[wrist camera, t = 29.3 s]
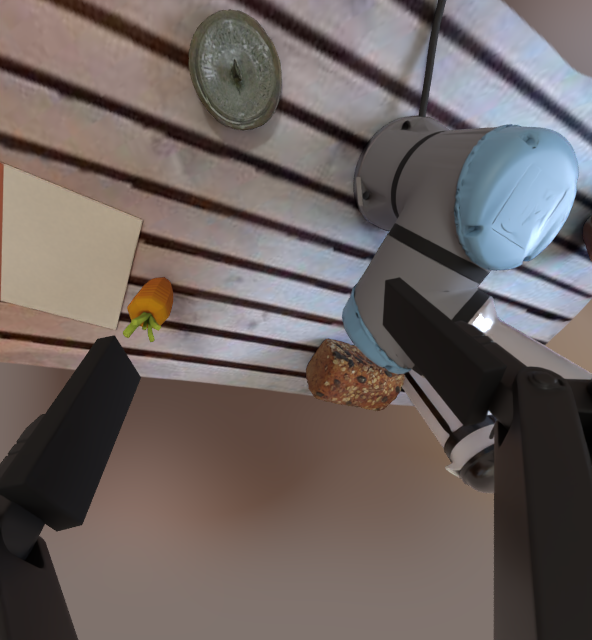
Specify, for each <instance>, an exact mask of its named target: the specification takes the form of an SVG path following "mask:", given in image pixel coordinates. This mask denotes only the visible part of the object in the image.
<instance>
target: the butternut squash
mask: <svg viewBox="0 0 592 640" xmlns="http://www.w3.org/2000/svg"><path fill="white" fill-rule="evenodd" d="M583 240H584V243H585V246H586V249H587V252H588V254H589V257H590V260H591V262H592V215H591V216H590V217H589V218H588V220H587V221H586V222H585V224H584V226H583Z"/></svg>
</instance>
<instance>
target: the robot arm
mask: <svg viewBox="0 0 592 640" xmlns="http://www.w3.org/2000/svg"><path fill="white" fill-rule="evenodd" d="M445 3H446V0H438V4H437V8H436V12H435V17H434V21H433V26H432V31H431V37H430V42H429V49H428V56H427V63H426V71H425V78H424V84H423V91H422V97H421V104H420V110H419V116H410V117H404V118H400V119H397V120H394V121H392V122H390V123H389V124H387V125H385V126H384V127H383V128H381V129H380V130H379V131H378V132H377V133H376V134H375V135H374V136H373V137H372V138H371V139H370V141H369V142H368V143H367V145H366V146H365V148H364V150H363V151H362V153H361V155H360V158H359V160H358V163H357V166H356V170H355V175H354V196H355V200H356V204H357V206H358V208H359V210H360V212H361V214H362V215H363V216H364V217H365V218H366V219H367V220H368V221H369V222H370V223H372V224H373V225H375V226H377V227H379V228H381V229H383V230H387V231H390V232H389V233H388V234H387V236H386V238H385V239H384V241H383V243H382V244H381V246H380V248H379V249H378V251H377V253H376V254H375V256H374V258H373V259H372V261H371V263H370V264H369V266H368V268H367V269H366V271H365V272H364V274H363V275H362V277H361V279H360V280H359V282H358V283H357V284H356V285H355V286H354V288H353V290H352V294H351V296H350V298H349V300H348V302H347V303H346V305H345V307H344V309H343V313H342V319H343V323H344V328H345V330H346V332H347V334H348V336H349V337H350V339H351V340H352V342H353V343H354V344H355V345H356V346H357V348H358V349H359V350H360V351H361V352H362V353H363V354H364V355H365V356H366V357H367V358H369V359H370V360H371V361H372V362H374V363H375V364H377V365H378V366H380V367H385V368H386V369H387V370H388V371H389V372H392V373H396V374H404V373H406V372H409V371H411V370H414V371H415V372H416V373H418V374H419V375H420V376H422V377H423V378H426V380H427V381H428V382H429V383H430V385H431V386H432V387H433V388H434V390H435V391H436V392H437V393H438V395H439V396H440V397H441V398H442V400H443V401H444V402H445V403H446V405H447V406H448V407H449V408H450V410H451V411H452V412H453V413H454V415H455V416H456V417H457V418H458V420H459V421H460V422H461V423H462V424H463V426H464V427H466V426H470V425H474V424H478V423H482V422H484V421H485V419H486V416H487V414H488V411H490V413H491V414H492V415H493V416H494V417H495V418H496V422H495V424H494V426H493V428H492V430H491V433H490V435H489V439H493V437H494V640H592V373H590V372H588V371H587V370H585V369H583V368H582V367H580V366H578V365H576V364H575V363H573V362H571V361H570V360H568V359H566V358H565V357H563V356H561V355H559V354H558V353H556V352H554V351H553V350H551V349H549V348H547V347H546V346H544V345H543V344H541V343H539V342H537V341H536V340H534V339H532V338H531V337H529V336H527V335H526V334H524V333H522V332H521V331H519V330H517V329H515V328H514V327H512V326H510V325H509V324H507V323H505V322H504V321H502V320H501V319H500V318H499V317H498V316H497V313H496V309H495V304H494V300H493V298H492V297H491V296H489V295H487V294H485V293H484V292H482V291H480V290H478V288H477V287H478V286H479V285H480V284H481V282H482V281H483V280H484V278H485V277H486V276H487V275H488V274H489V273H490V271H491V270H496V271H497V270H509V269H513V268H516V267H518V266H521V264H522V262H523V261H530V260H532V259H533V258H535V257H536V256H537V255H538V254H540V253H541V252H542V251H543V250H544V249H545V248H546V247H547V246H548V245H549V244H550V243H551V241H552V240H553V239H554V238H555V237H556V235H557V234H558V232H559V231H560V229H561V228H562V226H563V225H564V223H565V221H566V219H567V217H568V215H569V213H570V211H571V208H572V206H573V203H574V199H575V196H576V192H577V188H576V184H577V180H578V175H579V170H578V162H577V158H576V154H575V152H574V150H573V148H572V146H571V144H570V143H569V142H568V141H567V139H566V138H565V137H563V136H562V135H561V134H559V133H557V132H555V131H553V130H550V129H546V128H537V127H521V126H519V125H514V126H513V125H512V124H511V125H503V126H500V127H494V128H479V129H463V130H449V129H448V128H446V127H445V126H443V125H442V124H441V123H439V122H438V121H436V120H434V119H432V118H430V117H426V110H427V104H428V97H429V91H430V85H431V79H432V72H433V66H434V58H435V51H436V45H437V39H438V34H439V29H440V24H441V19H442V15H443V11H444V7H445ZM140 378H141V377H140V375H139V374H138V372H137V371H136V369H135V367H134V366H133V364H132V362H131V361H130V359H129V358H128V356H127V354H126V353H125V351H124V350H123V348H122V346H121V345H120V343H119V342H118V340H117V338H116V337H115V335H114V336H110V337H105V338H100V339H97V340H96V342H95V343H94V345H93V346H92V348H91V349H90V350H89V352H88V353H87V355H86V356H85V358H84V359H83V360H82V362H81V363H80V365H79V366H78V368H77V369H76V370H75V372H74V373H73V375H72V376H71V378H70V379H69V381H68V382H67V383H66V385H65V386H64V388H63V389H62V391H61V392H60V393H59V395H58V396H57V398H56V399H55V401H54V402H53V403H52V405H51V406H50V408H49V409H48V411H47V412H46V414H42V415H41V416H39V417H38V418H37V419H36V420H35V421H34V422H32V423H31V424H30V425H29V426H28V427H27V428H26V430H25V431H24V432H23V433H22V435H21V436H20V438H19V439H18V440H17V444H15V445H14V446H13V447H12V449H11V450H10V451H9V453H8V456H6V457H5V458H4V459H3V461H2V462H1V464H0V640H78V638H77V635H76V632H75V629H74V626H73V623H72V620H71V617H70V614H69V611H68V608H67V605H66V602H65V599H64V596H63V593H62V590H61V587H60V584H59V581H58V578H57V575H56V572H55V569H54V566H53V563H52V560H51V557H50V554H49V551H48V548H47V545H46V542H45V541H44V539H43V538H41V537H40V536H39V535H40V533H41V531H42V529H43V526H44V525H45V524H46V525H48V526H49V527H51V528H52V529H54V530H56V531H61V530H64V529H68V528H72V527H76V526H80V525H82V524H83V522H84V519H85V517H86V514H87V512H88V509H89V506H90V504H91V502H92V499H93V497H94V494H95V492H96V489H97V487H98V484H99V482H100V479H101V476H102V474H103V471H104V469H105V466H106V464H107V461H108V459H109V456H110V454H111V451H112V449H113V446H114V444H115V441H116V439H117V436H118V434H119V431H120V429H121V426H122V424H123V421H124V419H125V416H126V414H127V411H128V409H129V406H130V404H131V401H132V399H133V396H134V394H135V391H136V389H137V386H138V384H139V381H140Z"/></svg>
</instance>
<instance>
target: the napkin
mask: <svg viewBox="0 0 592 640" xmlns="http://www.w3.org/2000/svg"><path fill="white" fill-rule="evenodd" d="M142 222H143V220H142V219H140V218H137V217H135V216H132V215H130V214H127V213H125V212H122V211H120V210H118V209H115V208H113V207H110V206H108V205H105V204H103V203H100V202H98V201H95V200H93V199H91V198H88V197H86V196H83V195H81V194H78V193H76V192H73V191H71V190H68V189H66V188H64V187H61V186H59V185H56V184H54V183H51V182H49V181H46V180H44V179H41V178H39V177H37V176H34V175H32V174H29V173H27V172H24V171H22V170H19V169H17V168H14V167H12V166H9V165H7V164H5V163H2V162H0V301H4V302H8V303H12V304H16V305H20V306H24V307H28V308H32V309H36V310H39V311H43V312H47V313H51V314H55V315H59V316H63V317H67V318H71V319H75V320H78V321H82V322H86V323H90V324H94V325H98V326H102V327H106V328H110V329H114V330H116V329H117V325H118V320H119V316H120V312H121V308H122V304H123V300H124V296H125V292H126V288H127V284H128V280H129V275H130V271H131V267H132V263H133V259H134V255H135V251H136V247H137V243H138V239H139V235H140V231H141V226H142Z"/></svg>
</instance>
